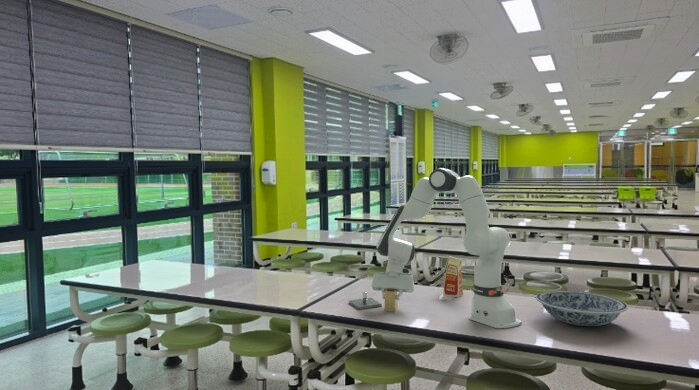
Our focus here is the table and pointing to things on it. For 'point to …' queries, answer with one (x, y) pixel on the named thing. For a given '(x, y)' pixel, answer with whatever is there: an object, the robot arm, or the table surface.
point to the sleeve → (390, 299)
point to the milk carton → (453, 278)
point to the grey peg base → (365, 302)
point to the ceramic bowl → (581, 307)
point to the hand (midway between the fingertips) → (390, 298)
